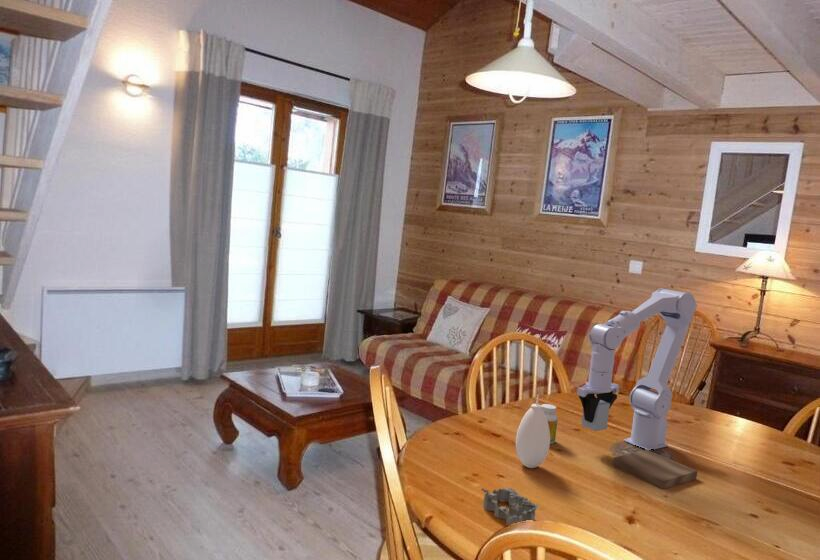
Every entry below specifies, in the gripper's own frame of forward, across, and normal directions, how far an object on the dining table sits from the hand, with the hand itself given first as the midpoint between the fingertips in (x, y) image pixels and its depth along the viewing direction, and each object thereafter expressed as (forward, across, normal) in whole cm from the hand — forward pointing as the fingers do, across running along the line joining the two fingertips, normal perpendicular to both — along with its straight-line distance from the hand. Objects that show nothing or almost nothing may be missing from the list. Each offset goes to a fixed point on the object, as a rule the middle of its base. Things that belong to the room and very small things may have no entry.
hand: (595, 420), depth 156 cm
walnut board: (+8, -4, +16) cm, 19 cm away
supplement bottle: (+9, +7, -10) cm, 15 cm away
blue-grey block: (+2, 0, 0) cm, 2 cm away
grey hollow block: (+9, +45, +16) cm, 49 cm away
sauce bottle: (+8, +24, +1) cm, 25 cm away
